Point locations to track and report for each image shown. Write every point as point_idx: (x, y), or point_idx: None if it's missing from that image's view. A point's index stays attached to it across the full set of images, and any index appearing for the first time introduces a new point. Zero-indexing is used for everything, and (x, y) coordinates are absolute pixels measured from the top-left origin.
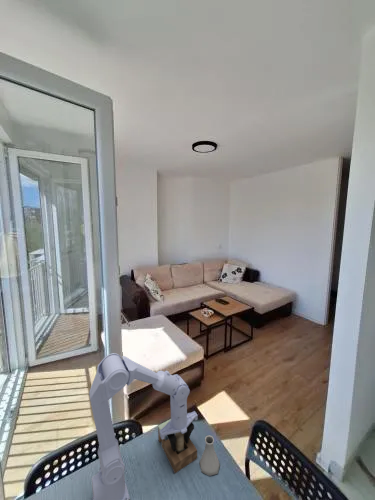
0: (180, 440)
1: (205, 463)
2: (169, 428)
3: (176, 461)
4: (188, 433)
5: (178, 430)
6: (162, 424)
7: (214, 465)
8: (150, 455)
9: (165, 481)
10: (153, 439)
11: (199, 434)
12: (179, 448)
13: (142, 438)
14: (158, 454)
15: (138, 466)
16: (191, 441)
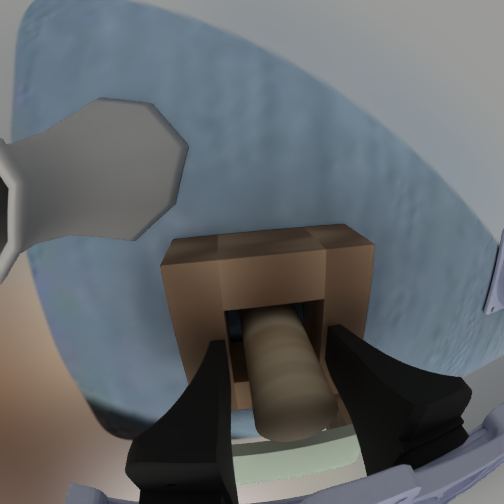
0: (306, 378)
1: (143, 140)
2: (455, 489)
3: (354, 258)
4: (217, 416)
5: (428, 494)
6: (330, 466)
7: (90, 108)
8: (391, 350)
9: (399, 214)
10: None
11: (109, 351)
12: (296, 329)
13: None
14: None
15: (442, 323)
16: (177, 339)
